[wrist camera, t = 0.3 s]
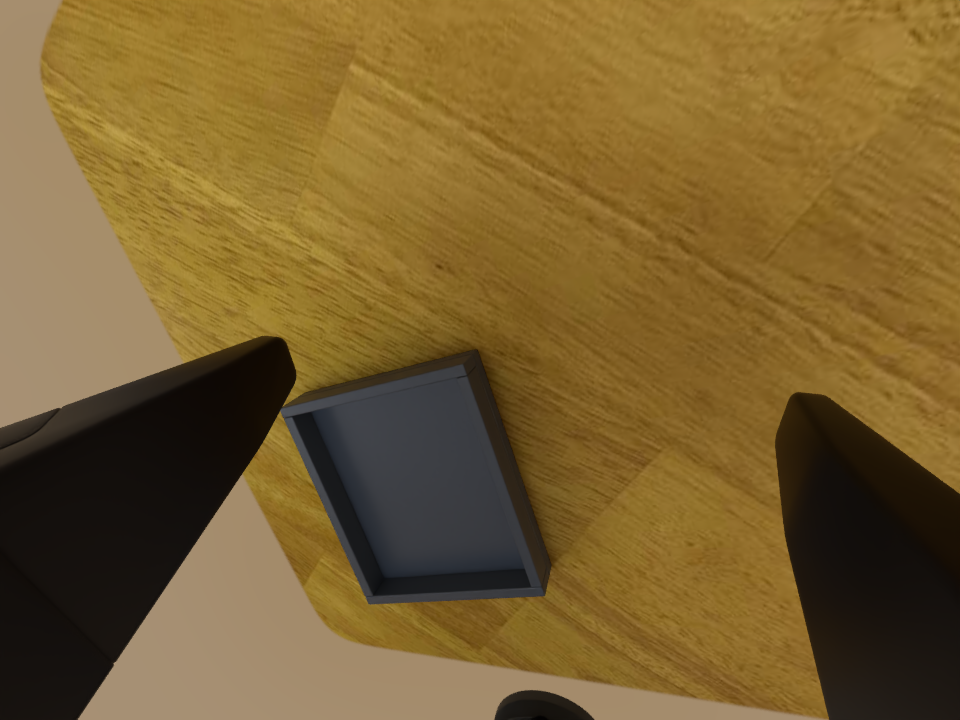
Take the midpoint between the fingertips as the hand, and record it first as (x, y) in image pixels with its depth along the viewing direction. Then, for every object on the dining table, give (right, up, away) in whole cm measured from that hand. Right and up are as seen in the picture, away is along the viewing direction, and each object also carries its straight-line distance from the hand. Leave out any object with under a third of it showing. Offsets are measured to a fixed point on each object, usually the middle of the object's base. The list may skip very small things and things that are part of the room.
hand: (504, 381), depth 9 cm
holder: (-4, -6, +19) cm, 21 cm away
